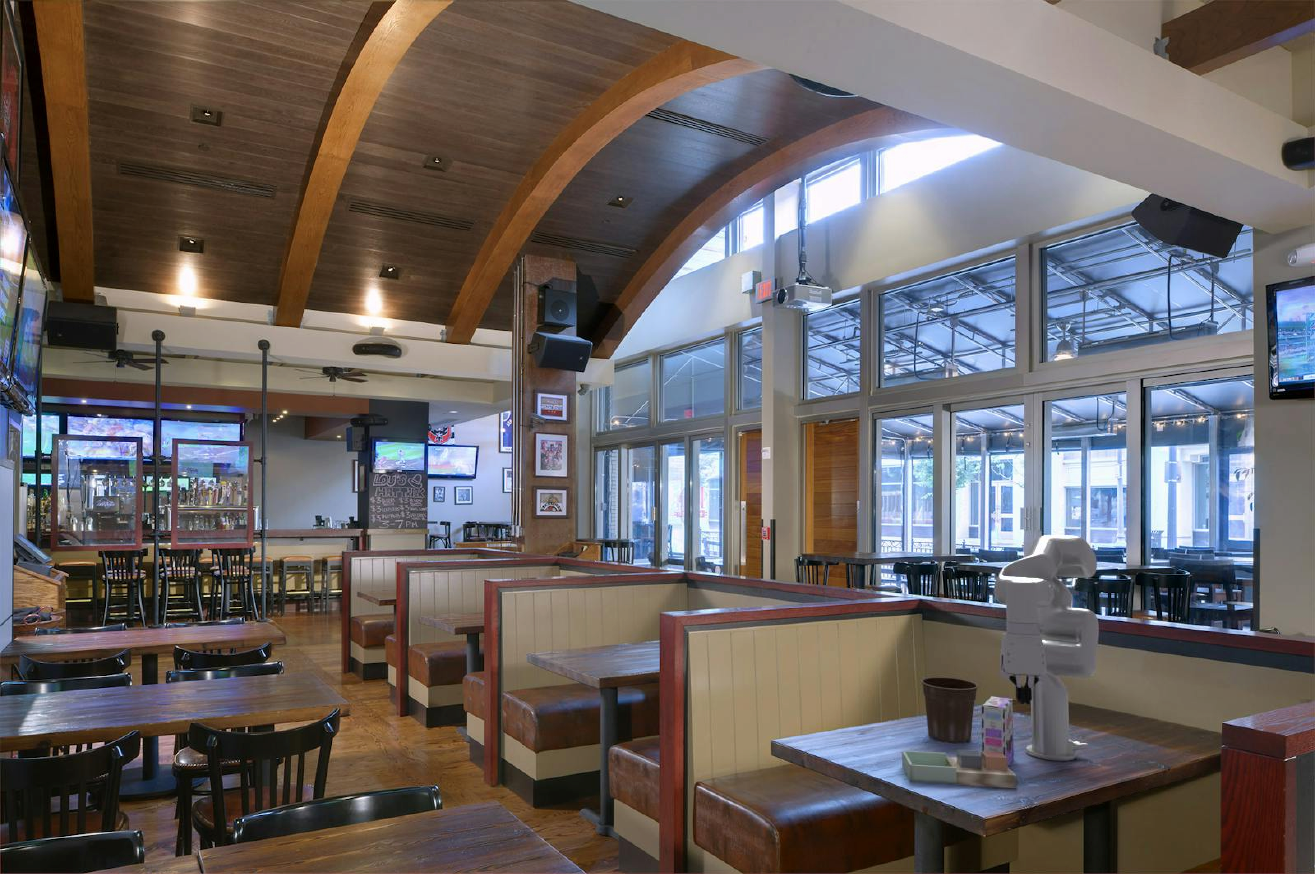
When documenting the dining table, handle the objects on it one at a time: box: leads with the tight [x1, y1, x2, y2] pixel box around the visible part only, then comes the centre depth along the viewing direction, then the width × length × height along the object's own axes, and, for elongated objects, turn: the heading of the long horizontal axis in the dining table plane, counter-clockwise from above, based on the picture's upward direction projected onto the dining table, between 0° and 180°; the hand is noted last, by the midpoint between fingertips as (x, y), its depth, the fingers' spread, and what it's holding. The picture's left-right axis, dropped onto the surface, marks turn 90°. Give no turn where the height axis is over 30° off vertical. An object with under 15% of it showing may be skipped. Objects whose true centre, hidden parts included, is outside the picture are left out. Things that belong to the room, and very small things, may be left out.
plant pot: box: [920, 676, 979, 744], centre depth 250 cm, size 16×16×16 cm
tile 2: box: [980, 750, 1007, 770], centre depth 212 cm, size 5×5×3 cm
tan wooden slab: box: [946, 756, 1017, 789], centre depth 212 cm, size 14×13×3 cm
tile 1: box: [956, 749, 982, 769], centre depth 213 cm, size 5×5×3 cm
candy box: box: [981, 695, 1015, 768], centre depth 225 cm, size 14×6×16 cm, turn 148°
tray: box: [901, 750, 958, 786], centre depth 214 cm, size 11×13×4 cm
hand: (1023, 702), depth 212 cm, fingers closed
